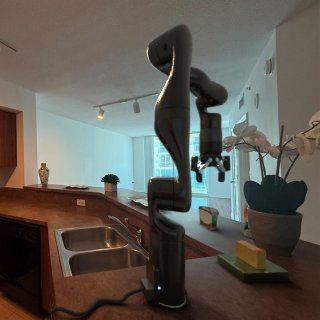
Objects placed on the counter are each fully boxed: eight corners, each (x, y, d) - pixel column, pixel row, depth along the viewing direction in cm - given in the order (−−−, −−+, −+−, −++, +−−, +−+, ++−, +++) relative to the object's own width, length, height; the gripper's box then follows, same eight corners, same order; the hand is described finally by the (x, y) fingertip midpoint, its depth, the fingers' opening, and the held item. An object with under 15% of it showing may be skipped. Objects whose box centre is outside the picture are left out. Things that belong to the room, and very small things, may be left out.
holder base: (245, 284, 58) (245, 273, 58) (216, 261, 70) (216, 253, 70) (290, 282, 58) (291, 272, 58) (253, 260, 71) (253, 252, 70)
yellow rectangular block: (235, 256, 68) (236, 239, 68) (243, 255, 68) (243, 239, 68) (257, 269, 60) (257, 251, 60) (266, 269, 60) (266, 251, 60)
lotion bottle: (243, 233, 95) (243, 192, 94) (259, 235, 91) (259, 193, 91) (243, 236, 91) (244, 194, 90) (260, 240, 87) (260, 195, 86)
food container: (225, 232, 96) (225, 212, 96) (212, 232, 97) (212, 212, 96) (209, 223, 109) (209, 205, 108) (198, 223, 109) (198, 205, 109)
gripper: (221, 141, 79) (220, 180, 79) (186, 141, 79) (186, 181, 79) (236, 139, 71) (236, 183, 72) (198, 140, 71) (198, 184, 71)
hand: (210, 182), depth 75 cm, fingers open, 8 cm apart
